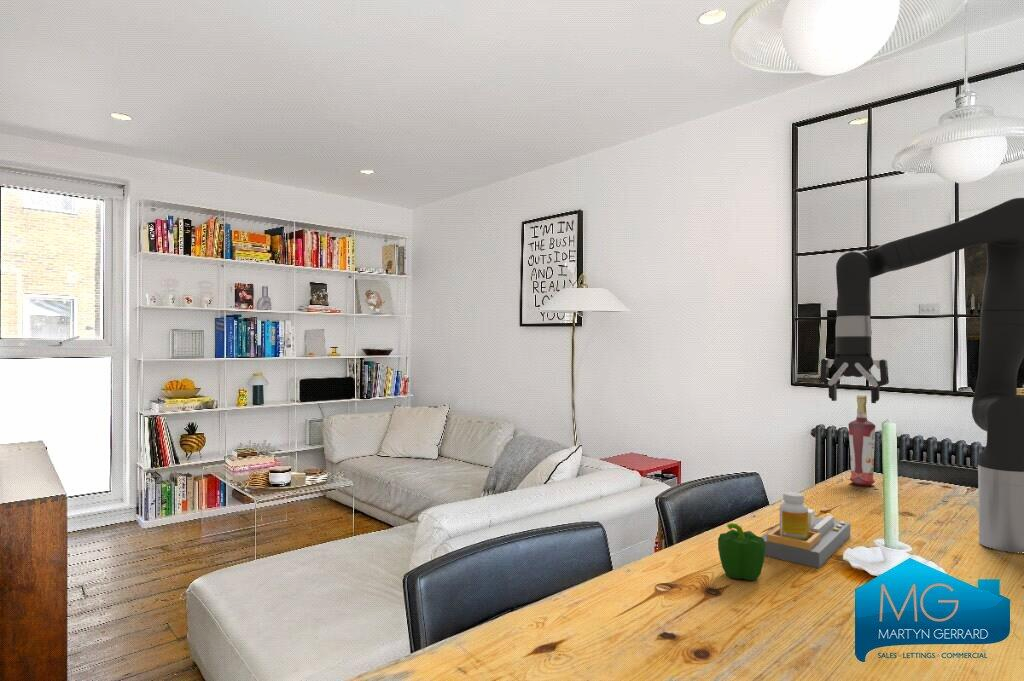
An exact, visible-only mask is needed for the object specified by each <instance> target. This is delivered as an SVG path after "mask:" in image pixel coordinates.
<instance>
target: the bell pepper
mask: <svg viewBox="0 0 1024 681" xmlns="http://www.w3.org/2000/svg"><path fill="white" fill-rule="evenodd" d="M726 527H727V529H729V530H728V531H727V532H723V533H720V534H719V537H718V538H717V541H718V542H717V548H718V549H717V550H718V554H719V559H720V563H721V566H722V569H723V571H724V573H725V575H726V576H727V577H729V578H731V579H744V580H747V581H755V580H757V579H758V578H759V577H760V575H761V573H762V571H763V567H764V564H765V563H764V562H765V558H766V556H765V548H766V544H765V542H764V539H763V538H762V537H761V536H758V535H756V534H755V533H754V532H752V531H751V530H747V531H744V530H743V527H741V526H740V525H739V524H737V523H732V522H731V523H727V524H726Z"/></svg>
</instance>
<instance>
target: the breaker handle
mask: <svg viewBox="0 0 1024 681" xmlns="http://www.w3.org/2000/svg"><path fill="white" fill-rule="evenodd" d="M815 512H816V510H815V509H811V508H808V531H811V532H812V528H813V527H814V526H815V517H816V515H815V514H816V513H815Z"/></svg>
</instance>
